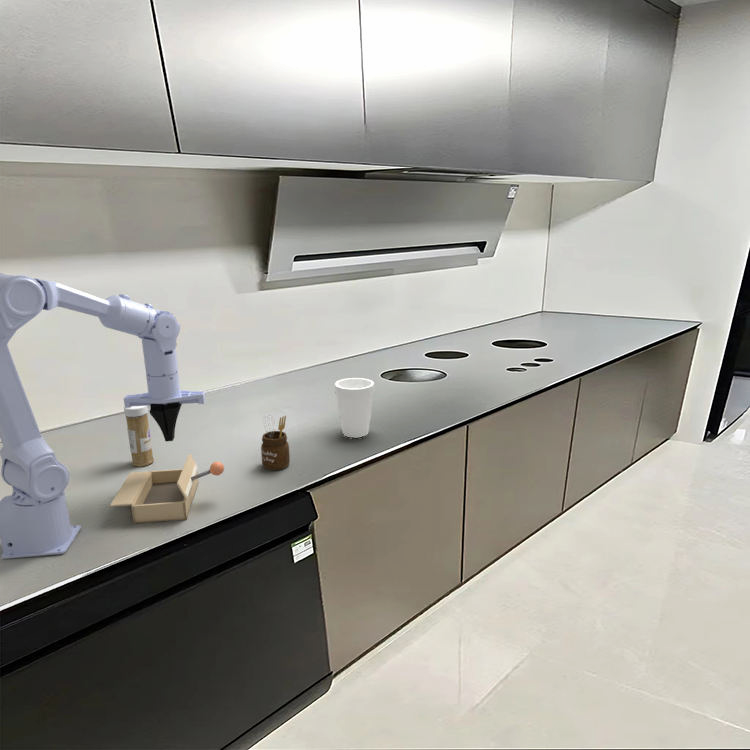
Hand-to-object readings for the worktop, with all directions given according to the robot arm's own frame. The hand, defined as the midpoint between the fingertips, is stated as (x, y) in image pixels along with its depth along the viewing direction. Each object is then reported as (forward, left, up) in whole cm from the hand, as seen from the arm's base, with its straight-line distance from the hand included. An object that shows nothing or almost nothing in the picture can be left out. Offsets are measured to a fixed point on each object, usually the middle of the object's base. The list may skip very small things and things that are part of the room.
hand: (169, 439), depth 109 cm
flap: (+4, -7, -5) cm, 10 cm away
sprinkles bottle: (-9, +12, -10) cm, 18 cm away
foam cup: (+39, +21, -10) cm, 45 cm away
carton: (-2, -7, -10) cm, 12 cm away
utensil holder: (+20, +6, -10) cm, 23 cm away
